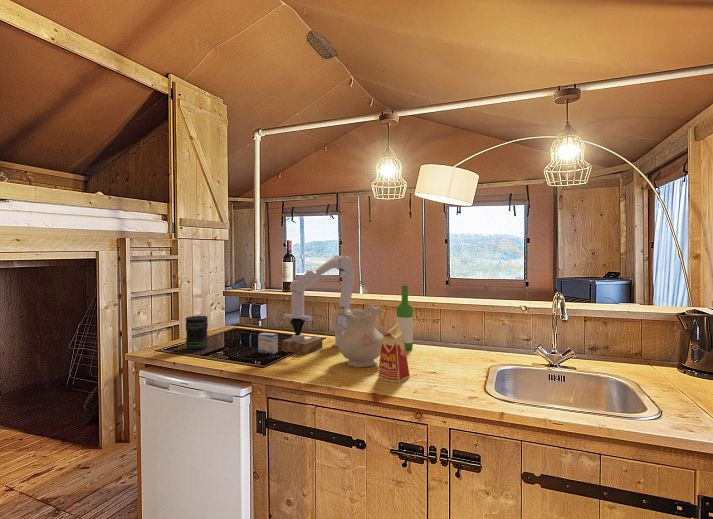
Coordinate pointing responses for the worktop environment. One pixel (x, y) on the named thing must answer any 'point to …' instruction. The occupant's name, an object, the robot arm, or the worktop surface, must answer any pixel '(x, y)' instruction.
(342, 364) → the worktop surface
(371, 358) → the ceramic pitcher
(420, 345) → the worktop surface
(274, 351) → the medicine box
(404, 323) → the wine bottle
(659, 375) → the worktop surface
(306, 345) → the socket block
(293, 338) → the pale grey block
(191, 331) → the storage jar
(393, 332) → the milk carton
